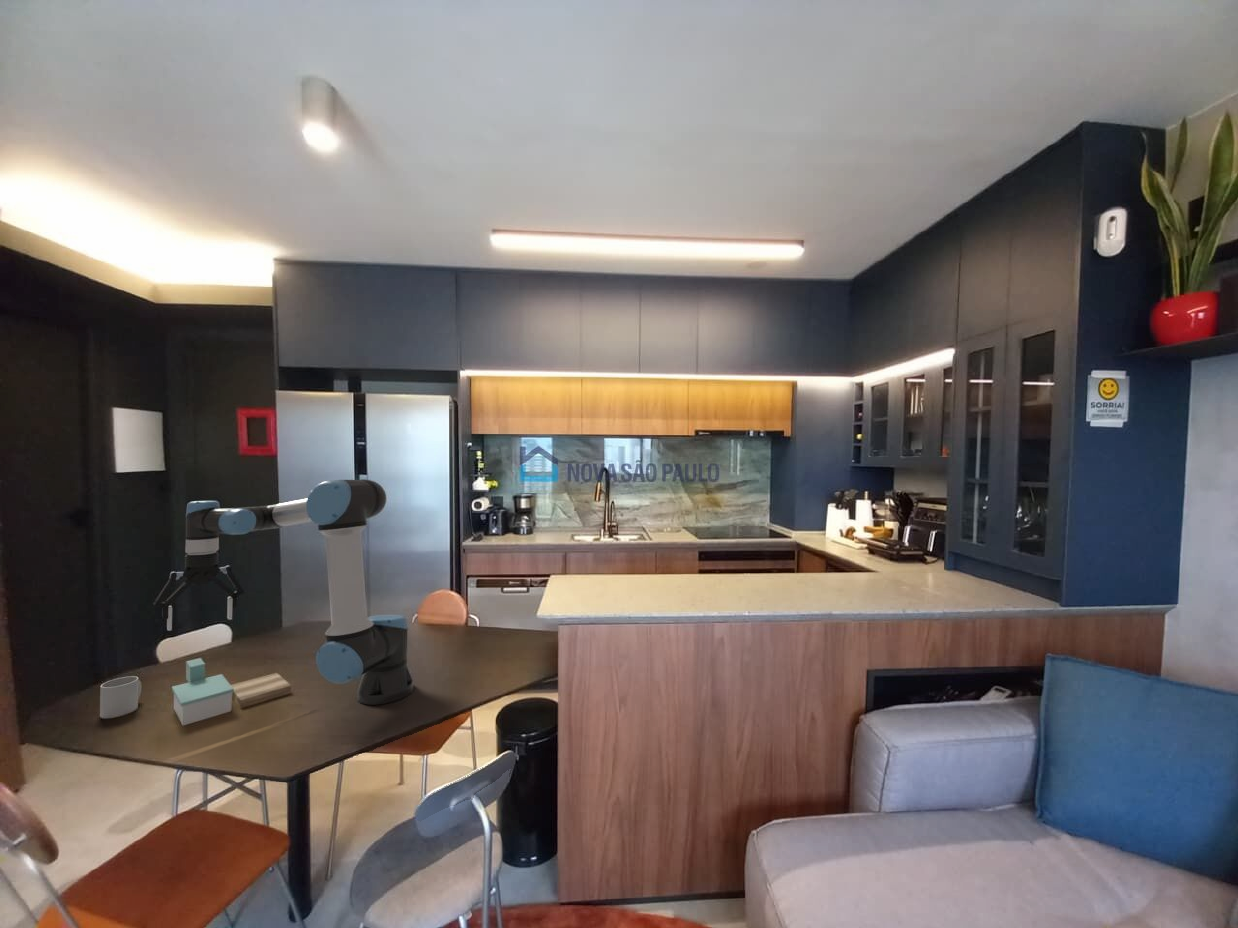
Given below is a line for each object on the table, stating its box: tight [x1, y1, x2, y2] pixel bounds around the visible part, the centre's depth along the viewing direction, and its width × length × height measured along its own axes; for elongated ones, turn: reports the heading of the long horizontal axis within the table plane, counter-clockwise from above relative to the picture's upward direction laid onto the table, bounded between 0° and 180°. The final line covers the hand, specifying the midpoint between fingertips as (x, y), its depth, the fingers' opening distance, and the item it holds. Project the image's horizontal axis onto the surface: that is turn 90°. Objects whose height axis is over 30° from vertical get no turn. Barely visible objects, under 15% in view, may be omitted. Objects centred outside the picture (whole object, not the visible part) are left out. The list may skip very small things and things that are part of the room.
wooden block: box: [230, 672, 292, 709], centre depth 142 cm, size 14×12×3 cm
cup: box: [99, 675, 142, 719], centre depth 132 cm, size 7×10×9 cm
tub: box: [173, 692, 233, 726], centre depth 132 cm, size 14×10×6 cm
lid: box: [171, 657, 234, 706], centre depth 134 cm, size 21×11×6 cm, turn 50°
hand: (200, 624), depth 142 cm, fingers open, 13 cm apart
